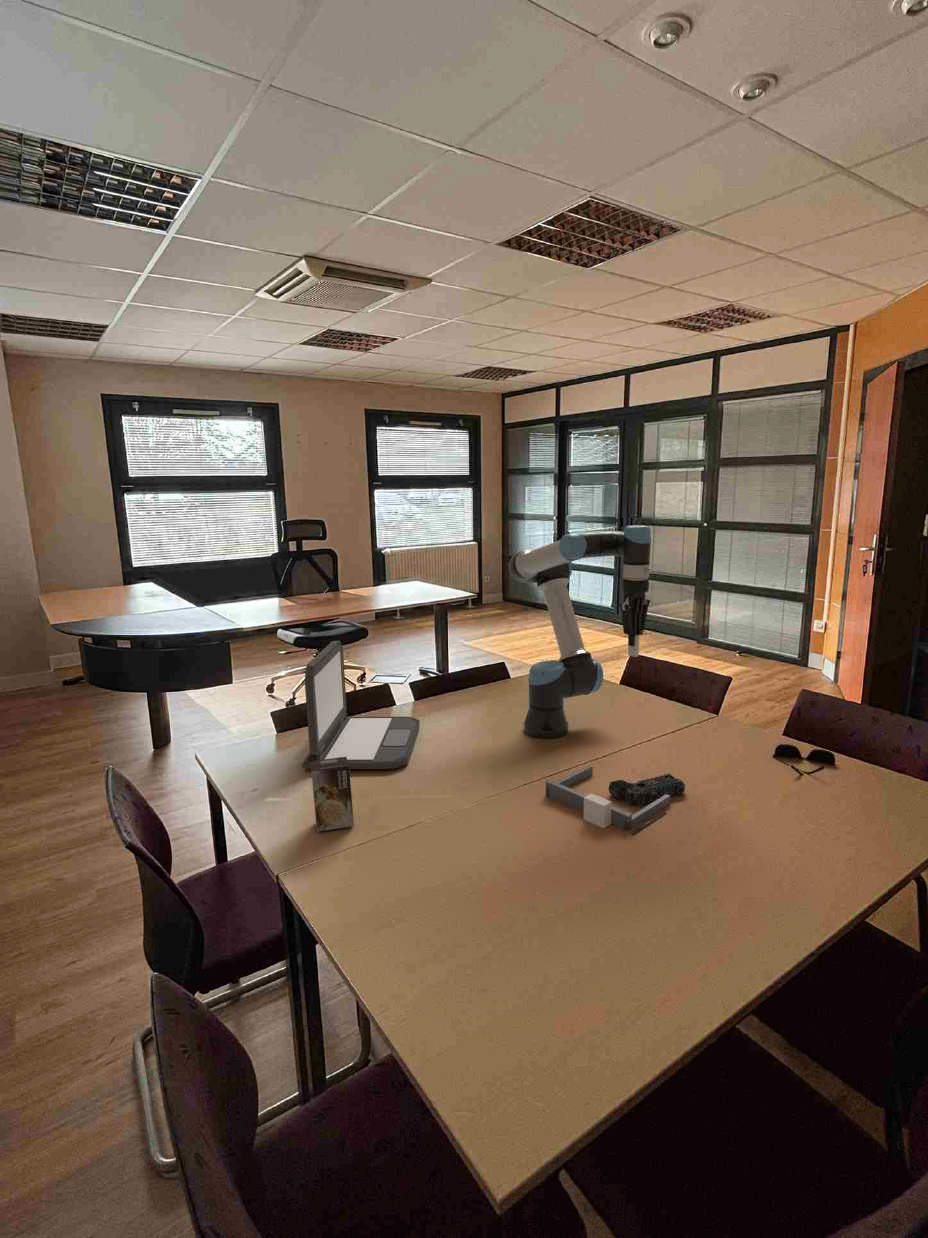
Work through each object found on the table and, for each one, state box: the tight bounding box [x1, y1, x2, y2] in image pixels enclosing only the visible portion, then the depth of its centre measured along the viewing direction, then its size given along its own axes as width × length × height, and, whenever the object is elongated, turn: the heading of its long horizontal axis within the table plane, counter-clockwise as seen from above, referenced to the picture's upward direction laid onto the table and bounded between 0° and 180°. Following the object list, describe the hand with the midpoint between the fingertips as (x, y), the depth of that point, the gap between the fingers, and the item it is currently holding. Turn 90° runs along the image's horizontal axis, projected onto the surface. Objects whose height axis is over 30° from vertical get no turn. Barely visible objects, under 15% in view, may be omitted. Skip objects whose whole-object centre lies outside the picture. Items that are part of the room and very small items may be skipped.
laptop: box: [301, 640, 420, 770], centre depth 201 cm, size 38×31×32 cm
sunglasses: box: [772, 743, 837, 776], centre depth 180 cm, size 17×14×5 cm
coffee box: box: [310, 757, 355, 832], centre depth 155 cm, size 9×6×16 cm
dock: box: [545, 764, 671, 836], centre depth 163 cm, size 28×22×6 cm
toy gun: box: [607, 773, 686, 807], centre depth 167 cm, size 4×19×10 cm
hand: (633, 655), depth 190 cm, fingers closed
